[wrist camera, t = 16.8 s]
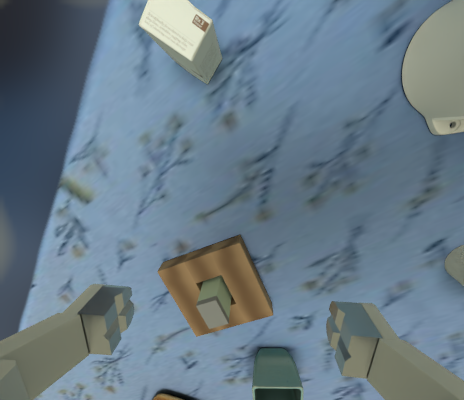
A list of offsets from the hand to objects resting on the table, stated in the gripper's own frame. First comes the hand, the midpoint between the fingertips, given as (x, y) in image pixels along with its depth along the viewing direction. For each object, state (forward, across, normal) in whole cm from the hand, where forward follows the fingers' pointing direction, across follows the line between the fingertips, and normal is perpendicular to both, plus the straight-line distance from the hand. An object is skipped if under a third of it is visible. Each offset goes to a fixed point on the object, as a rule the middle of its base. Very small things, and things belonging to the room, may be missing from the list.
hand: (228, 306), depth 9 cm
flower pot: (+29, -8, +40) cm, 50 cm away
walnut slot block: (+29, +4, +22) cm, 37 cm away
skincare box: (+29, +7, -16) cm, 34 cm away
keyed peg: (+29, +4, +22) cm, 37 cm away
